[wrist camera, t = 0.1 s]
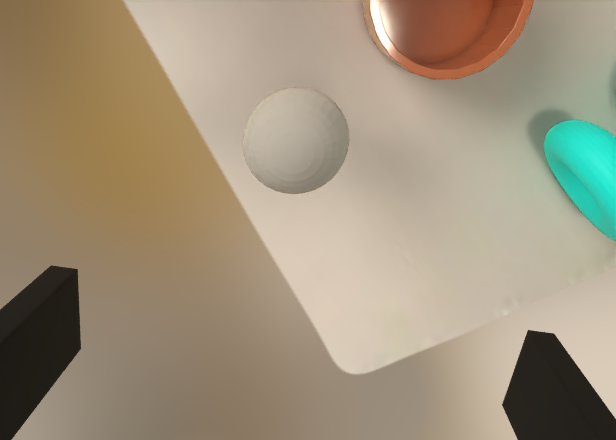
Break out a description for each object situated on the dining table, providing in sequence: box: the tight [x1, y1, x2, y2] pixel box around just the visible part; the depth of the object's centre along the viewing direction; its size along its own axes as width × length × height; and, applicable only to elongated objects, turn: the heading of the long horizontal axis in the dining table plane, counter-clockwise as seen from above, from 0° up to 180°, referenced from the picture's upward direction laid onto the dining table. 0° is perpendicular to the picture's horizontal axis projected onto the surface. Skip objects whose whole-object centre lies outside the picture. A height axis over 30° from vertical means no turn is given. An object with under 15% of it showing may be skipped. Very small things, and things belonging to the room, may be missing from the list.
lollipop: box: [243, 87, 349, 194], centre depth 33 cm, size 6×6×15 cm
